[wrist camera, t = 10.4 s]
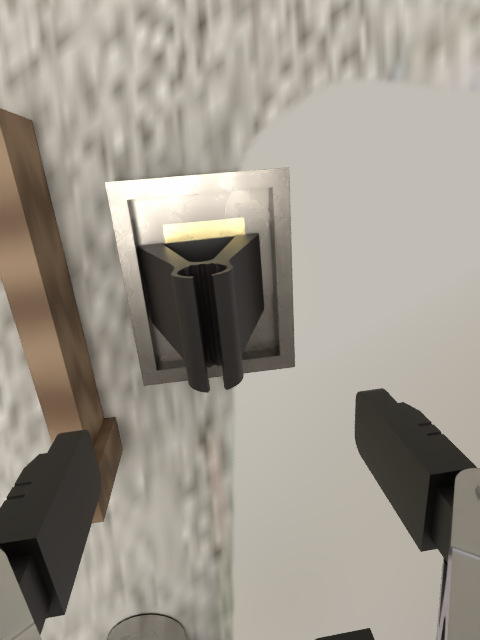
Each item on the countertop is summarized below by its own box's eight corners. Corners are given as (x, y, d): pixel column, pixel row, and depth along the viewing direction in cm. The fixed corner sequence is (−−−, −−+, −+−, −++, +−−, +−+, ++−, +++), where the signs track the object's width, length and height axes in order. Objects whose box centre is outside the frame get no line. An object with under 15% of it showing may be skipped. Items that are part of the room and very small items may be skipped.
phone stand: (151, 320, 30) (126, 403, 19) (138, 245, 28) (100, 287, 16) (263, 307, 30) (304, 380, 19) (258, 232, 28) (301, 265, 17)
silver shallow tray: (287, 353, 34) (294, 366, 31) (147, 370, 33) (143, 385, 30) (280, 168, 28) (289, 167, 26) (113, 182, 27) (105, 182, 25)
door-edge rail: (122, 449, 35) (103, 521, 28) (74, 456, 35) (41, 530, 27) (46, 119, 25) (-15, 93, 18) (-22, 123, 25) (-113, 99, 18)
